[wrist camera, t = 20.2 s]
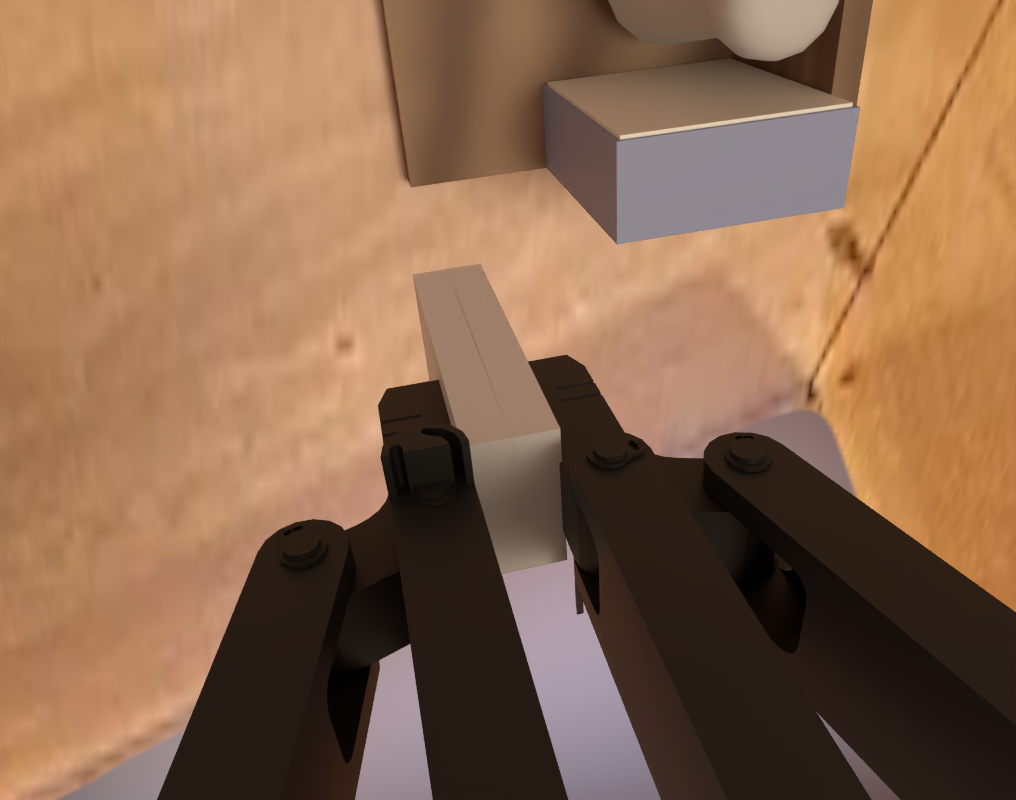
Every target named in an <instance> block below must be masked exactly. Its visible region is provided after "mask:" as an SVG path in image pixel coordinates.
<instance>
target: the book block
mask: <svg viewBox="0 0 1016 800" xmlns="http://www.w3.org/2000/svg"><path fill="white" fill-rule="evenodd" d="M542 88H543V107H544V126H545V146H546V165H547V168H548V170H549V171H550V172H551V173H552V174H553V175H554V176H555V177H556V178H557V179H558V180H559V182H560V183H561V184H562V185H563V186H564V187H565V188H566V189H567V190H568V191H569V193H570V194H571V195H572V196H573V197H574V198H575V199H576V200H577V201H578V202H579V203H580V205H581V206H582V207H583V208H584V209H585V210H586V211H587V212H588V213H589V214H590V215H591V217H592V218H593V219H594V220H595V221H596V222H597V223H598V224H599V225H600V226H601V227H602V229H603V230H604V231H605V232H606V233H607V234H608V235H609V236H610V237H611V238H612V239H613V241H614V242H615V243H616V244H622V243H628V242H635V241H641V240H647V239H653V238H660V237H666V236H672V235H678V234H684V233H691V232H697V231H703V230H709V229H715V228H722V227H728V226H734V225H740V224H746V223H753V222H759V221H765V220H771V219H777V218H784V217H790V216H796V215H802V214H809V213H815V212H821V211H827V210H833V209H840V208H844V205H845V198H846V192H847V186H848V180H849V173H850V167H851V161H852V155H853V148H854V142H855V136H856V130H857V123H858V117H859V111H860V107H858V106H856V105H853V102H850V101H847V100H844V99H841V98H839V97H836V96H833V95H830V94H828V93H825V92H822V91H819V90H817V89H814V88H811V87H808V86H805V85H803V84H800V83H797V82H794V81H792V80H789V79H786V78H783V77H781V76H778V75H775V74H772V73H770V72H767V71H764V70H761V69H758V68H756V67H753V66H750V65H747V64H745V63H742V62H739V61H736V60H734V59H731V58H729V59H721V60H713V61H706V62H698V63H690V64H683V65H675V66H667V67H660V68H652V69H644V70H637V71H629V72H621V73H614V74H606V75H598V76H590V77H583V78H575V79H567V80H560V81H552V82H547V85H542Z"/></svg>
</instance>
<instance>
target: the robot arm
mask: <svg viewBox="0 0 1016 800" xmlns="http://www.w3.org/2000/svg"><path fill="white" fill-rule="evenodd" d="M413 279H414V285H415V292H416V298H417V304H418V311H419V317H420V323H421V330H422V336H423V342H424V349H425V355H426V362H427V368H428V374H429V381H428V382H423V383H417V384H411V385H406V386H400V387H395V388H389V389H387V390H386V391H385V393H384V395H383V397H382V399H381V401H380V403H379V404H378V409H379V416H380V422H381V430H382V436H383V444H384V445H383V447H382V452H381V461H382V466H383V471H384V476H385V480H386V485H387V490H388V497H387V500H386V502H385V503H384V505H383V506H382V507H381V508H380V510H379V511H378V512H376V513H375V514H374V515H373V516H371V517H370V518H369V519H367V520H365V521H363V522H362V523H360V524H358V525H356V526H354V527H351V528H349V529H347V530H345V531H344V529H343V528H342V527H341V526H339V525H337V524H335V523H333V522H331V521H326V520H316V519H312V520H306V521H301V522H296V523H293V524H291V525H289V526H286V527H284V528H282V529H280V530H278V531H277V532H276V533H274V534H273V535H272V536H271V537H269V538H268V539H267V540H266V541H265V542H264V544H263V545H262V547H261V548H260V550H259V551H258V553H257V555H256V558H255V560H254V563H253V565H252V568H251V570H250V572H249V575H248V577H247V580H246V582H245V585H244V587H243V590H242V592H241V595H240V597H239V600H238V602H237V604H236V607H235V609H234V612H233V614H232V617H231V619H230V622H229V624H228V627H227V629H226V631H225V634H224V636H223V639H222V641H221V644H220V646H219V649H218V651H217V654H216V656H215V659H214V661H213V663H212V666H211V668H210V671H209V673H208V676H207V678H206V681H205V683H204V686H203V688H202V691H201V693H200V695H199V698H198V700H197V703H196V705H195V708H194V710H193V713H192V715H191V718H190V720H189V722H188V725H187V727H186V730H185V732H184V735H183V737H182V740H181V742H180V745H179V747H178V750H177V752H176V754H175V757H174V760H173V762H172V764H171V767H170V769H169V772H168V774H167V777H166V779H165V782H164V784H163V787H162V789H161V791H160V794H159V796H158V799H157V800H355V796H356V790H357V785H358V780H359V775H360V769H361V764H362V759H363V754H364V748H365V743H366V738H367V733H368V727H369V722H370V717H371V711H372V706H373V701H374V695H375V690H376V686H377V680H378V675H379V670H380V665H379V660H380V659H382V658H384V657H386V656H388V655H390V654H392V653H394V652H395V651H397V650H399V649H401V648H403V647H405V646H407V645H409V644H411V651H412V658H413V665H414V672H415V679H416V686H417V693H418V700H419V707H420V714H421V720H422V728H423V734H424V741H425V748H426V755H427V762H428V769H429V776H430V783H431V790H432V797H433V800H568V797H567V794H566V791H565V787H564V784H563V780H562V777H561V774H560V770H559V767H558V763H557V760H556V757H555V753H554V750H553V746H552V743H551V740H550V736H549V733H548V730H547V726H546V723H545V720H544V716H543V713H542V709H541V706H540V703H539V699H538V696H537V692H536V689H535V686H534V682H533V679H532V676H531V672H530V669H529V665H528V662H527V659H526V655H525V652H524V648H523V645H522V642H521V638H520V635H519V632H518V628H517V625H516V622H515V618H514V615H513V612H512V608H511V604H510V601H509V598H508V594H507V591H506V588H505V584H504V581H503V577H502V574H503V573H508V572H512V571H517V570H522V569H526V568H531V567H535V566H540V565H545V564H550V563H554V562H559V561H563V560H567V548H566V539H567V541H568V544H569V546H570V549H571V551H572V553H573V556H574V571H575V572H574V573H575V595H576V609H577V614H582V613H584V612H583V602H584V605H585V607H586V610H587V612H588V615H589V617H590V620H591V623H592V625H593V628H594V630H595V633H596V635H597V638H598V640H599V643H600V645H601V648H602V650H603V653H604V656H605V658H606V660H607V663H608V666H609V668H610V671H611V673H612V676H613V678H614V681H615V684H616V686H617V688H618V691H619V694H620V696H621V699H622V701H623V704H624V706H625V709H626V711H627V714H628V716H629V719H630V722H631V724H632V727H633V729H634V732H635V734H636V737H637V739H638V742H639V744H640V747H641V749H642V752H643V754H644V757H645V760H646V762H647V765H648V767H649V770H650V773H651V775H652V777H653V780H654V783H655V785H656V788H657V790H658V793H659V795H660V798H661V800H871V798H870V797H869V795H868V793H867V792H866V790H865V789H864V787H863V785H862V784H861V782H860V781H859V779H858V777H857V776H856V774H855V773H854V771H853V769H852V768H851V766H850V765H849V763H848V762H847V760H846V758H845V757H844V755H843V754H842V752H841V750H840V749H839V747H838V746H837V744H836V742H835V741H834V739H833V738H832V736H831V735H830V733H829V732H828V730H827V728H826V727H825V725H824V723H823V722H822V720H821V719H820V717H819V715H820V716H821V717H822V718H823V719H824V720H825V721H826V722H827V723H828V724H829V725H830V726H831V727H832V729H833V730H834V731H835V732H836V733H837V734H838V735H839V736H840V737H841V738H842V739H843V740H844V741H845V742H846V743H847V744H848V745H849V746H850V747H851V748H852V749H853V750H854V751H855V752H856V753H857V755H858V756H859V757H860V758H861V759H862V760H863V761H864V762H865V763H866V764H867V765H868V766H869V767H870V768H871V769H872V770H873V771H874V772H875V773H876V774H877V775H878V776H879V777H880V779H881V780H882V781H883V782H884V783H886V785H887V786H888V787H889V788H890V789H891V790H892V791H893V792H894V793H895V794H896V795H897V796H898V797H899V798H900V799H901V800H1016V612H1014V611H1013V610H1012V609H1010V608H1009V607H1008V606H1006V605H1005V604H1003V603H1002V602H1001V601H999V600H998V599H996V598H995V597H994V596H992V595H991V594H989V593H988V592H987V591H985V590H984V589H983V588H981V587H980V586H978V585H977V584H976V583H974V582H973V581H971V580H970V579H969V578H967V577H966V576H964V575H963V574H962V573H960V572H959V571H958V570H956V569H955V568H953V567H952V566H951V565H949V564H948V563H946V562H945V561H944V560H942V559H941V558H939V557H938V556H937V555H935V554H934V553H933V552H931V551H930V550H928V549H927V548H926V547H924V546H923V545H921V544H920V543H919V542H917V541H916V540H915V539H913V538H912V537H910V536H909V535H908V534H906V533H905V532H903V531H902V530H901V529H899V528H898V527H896V526H895V525H894V524H892V523H891V522H890V521H888V520H887V519H885V518H884V517H883V516H881V515H880V514H878V513H877V512H876V511H874V510H873V509H871V508H870V507H869V506H867V505H866V504H865V503H863V502H862V501H860V500H859V499H858V498H856V497H855V496H853V495H852V494H851V493H849V492H848V491H846V490H845V489H843V488H842V487H841V486H840V485H838V484H837V483H835V482H834V481H832V480H831V479H830V478H828V477H827V476H826V475H824V474H823V473H821V472H820V471H819V470H817V469H816V468H815V467H813V466H812V465H810V464H809V463H808V462H806V461H805V460H803V459H802V458H801V457H799V456H798V455H796V454H795V453H794V452H792V451H791V450H790V449H788V448H787V447H785V446H784V445H783V444H781V443H779V442H777V441H775V440H773V439H771V438H769V437H767V436H763V435H759V434H755V433H738V432H735V433H730V434H726V435H722V436H719V437H717V438H716V439H714V440H712V441H711V442H709V444H708V446H707V447H706V449H705V451H704V459H702V458H671V457H663V456H659V455H655V454H654V453H653V451H652V450H651V448H650V447H649V446H648V445H647V444H646V443H645V442H644V441H643V440H642V439H640V438H638V437H635V436H633V435H631V434H628V433H625V432H624V431H623V429H622V427H621V426H620V424H619V422H618V421H617V419H616V417H615V416H614V414H613V412H612V411H611V409H610V407H609V406H608V404H607V402H606V401H605V399H604V397H603V396H602V395H601V394H600V391H599V389H598V388H597V386H596V384H595V383H594V382H593V379H592V378H591V376H590V374H589V373H588V371H587V369H586V368H585V366H584V365H582V364H581V363H579V362H577V361H576V360H574V359H572V358H571V357H569V356H568V355H562V356H557V357H551V358H546V359H540V360H535V361H529V362H528V361H527V359H526V357H525V355H524V353H523V351H522V349H521V347H520V345H519V342H518V340H517V338H516V336H515V334H514V332H513V330H512V328H511V326H510V324H509V322H508V320H507V318H506V316H505V314H504V312H503V309H502V307H501V305H500V303H499V301H498V299H497V297H496V295H495V293H494V291H493V289H492V287H491V285H490V283H489V281H488V279H487V276H486V274H485V272H484V270H483V268H482V266H481V264H476V265H470V266H464V267H458V268H451V269H445V270H439V271H433V272H427V273H420V274H414V275H413ZM817 713H818V714H819V715H818V714H817Z"/></svg>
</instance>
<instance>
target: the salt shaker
mask: <svg viewBox="0 0 1016 800" xmlns="http://www.w3.org/2000/svg"><path fill="white" fill-rule="evenodd" d="M608 1H609V3H610V6H611V8H612V10H613V13H614V15H615V17H616V19H617V21H618V22H619V23H620V24H621V25H622V26H623V27H624V28H626V29H627V30H628V31H629V32H631V33H632V34H633V35H634V36H636V37H637V38H638V39H639V40H641V41H642V42H649V43H657V44H664V45H671V44H678V43H685V42H692V41H699V40H706V39H712V38H718V39H719V40H720V41H721V42H722V43H724V44H725V45H726V46H727V47H728V48H729V49H730V50H732V51H733V52H734V53H735V54H736V55H738V56H741V57H743V58H747V59H755V60H763V61H779V60H781V59H784V58H787V57H790V56H792V55H795V54H798V53H800V52H803V51H804V50H805V49H806V48H807V47H808V46H809V45H810V44H811V43H812V42H813V41H814V40H815V39H816V38H817V37H818V36H819V35H820V34H821V33H822V32H823V31H824V30H825V28H826V26H827V24H828V22H829V21H830V19H831V17H832V15H833V13H834V11H835V9H836V7H837V5H838V3H839V0H608Z"/></svg>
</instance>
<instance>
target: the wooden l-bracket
mask: <svg viewBox="0 0 1016 800" xmlns="http://www.w3.org/2000/svg"><path fill="white" fill-rule="evenodd" d="M381 1H382V8H383V14H384V21H385V28H386V34H387V41H388V48H389V54H390V61H391V68H392V74H393V81H394V88H395V94H396V101H397V108H398V114H399V121H400V128H401V134H402V141H403V148H404V154H405V161H406V168H407V174H408V181H409V183H410V186H411V187H416V186H423V185H430V184H437V183H444V182H451V181H457V180H464V179H471V178H478V177H485V176H492V175H499V174H506V173H513V172H519V171H526V170H533V169H540V168H547V165H546V146H545V126H544V107H543V88H542V85H547V82H552V81H560V80H567V79H575V78H583V77H590V76H598V75H606V74H614V73H621V72H629V71H637V70H644V69H652V68H660V67H667V66H675V65H683V64H690V63H698V62H706V61H713V60H721V59H729V58H731V59H734V60H736V61H739V62H742V63H745V64H747V65H750V66H753V67H756V68H758V69H761V70H764V71H767V72H770V73H772V74H775V75H778V76H781V77H783V78H786V79H789V80H792V81H794V82H797V83H800V84H803V85H805V86H808V87H811V88H814V89H817V90H819V91H822V92H825V93H828V94H830V95H833V96H836V97H839V98H841V99H844V100H847V101H850V102H853V105H857V98H858V92H859V86H860V79H861V73H862V67H863V60H864V54H865V48H866V41H867V35H868V28H869V22H870V16H871V9H872V3H873V0H839V3H838V5H837V7H836V9H835V11H834V13H833V15H832V17H831V19H830V21H829V22H828V24H827V26H826V28H825V30H824V31H823V32H822V33H821V34H820V35H819V36H818V37H817V38H816V39H815V40H814V41H813V42H812V43H811V44H810V45H809V46H808V47H807V48H806V49H805V50H804V51H803V52H800V53H798V54H795V55H792V56H790V57H787V58H784V59H781V60H779V61H763V60H755V59H747V58H743V57H741V56H738V55H736V54H735V53H734V52H733V51H732V50H730V49H729V48H728V47H727V46H726V45H725V44H724V43H722V42H721V41H720V40H719V39H718V38H712V39H706V40H699V41H692V42H685V43H678V44H671V45H664V44H657V43H649V42H642V41H641V40H639V39H638V38H637V37H636V36H634V35H633V34H632V33H631V32H629V31H628V30H627V29H626V28H624V27H623V26H622V25H621V24H620V23H619V22H618V21H617V19H616V17H615V15H614V13H613V10H612V8H611V6H610V3H609V1H608V0H381Z"/></svg>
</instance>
